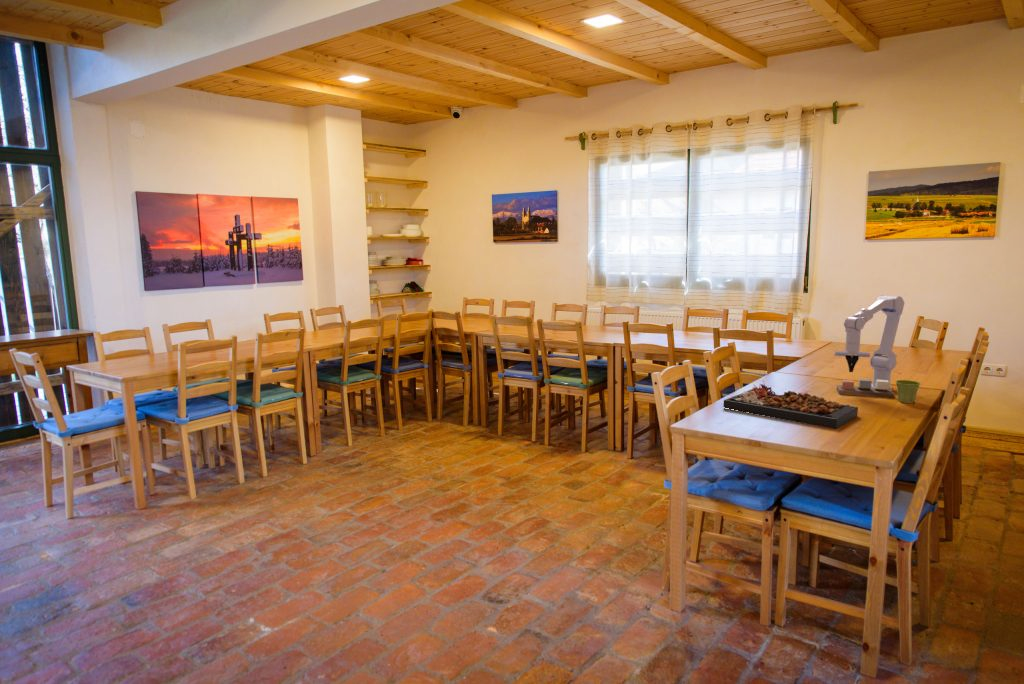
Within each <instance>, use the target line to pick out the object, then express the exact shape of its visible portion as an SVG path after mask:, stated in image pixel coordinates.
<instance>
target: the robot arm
mask: <svg viewBox="0 0 1024 684" xmlns="http://www.w3.org/2000/svg"><path fill="white" fill-rule="evenodd" d="M904 307H905V300H904V299H903V297H902V296H900V295H899V296H895V295H894V296H893V295H884V294H882V295H879V296H878V297H876V300H875V302H874V303H872V305H870V306H869V307H868V308H866V307H865V308H861V309H860V311H858V312H857V313H855V314H854V315H852V316H848V317H846V318H845V320H844V323H843V326H844V328H845V329H844V330H845V333H846V335H845V350H843V351H841V350H840V351H839V350H837V351H836V350H834V351H833V352H834V356H835V357H845V359H846V363H847V366H848V372H849V373H854V369H855V366H856V364H857V363H858V361H859V359H860V358H861V357H862V358H869V364H870V366H871V368H872V369H873V373H872V374H873V375H872V383H871V387H874V388H876V379H877V380H888V381H889V388H890V389H891V391H893V388H892V386H891V377H892V371H893V370H894V369H895V368H896V365H897V354H896V353H895V352H894V351H893V348H894V343H895V339H896V335H897V331H898V327H899V323H900V318H901V315H903V310H904ZM880 311H881V312H882V313H884V314H885V315H886V319H885V323H884V328H883V332H882V336H881V339H880V340H881V341H880V345H879V347H878V349H876V350H874V351H873V353H872V356H871V352H863V351H860V349H861V348H860V347H861V345H860V344H861V332H862V331H861V330H863V329H864V327H865V325H866V324H867V323H868V322H869V321H870V320H872V319H873V318H874V314H877V313H879V312H880Z"/></svg>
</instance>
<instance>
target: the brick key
mask: <svg viewBox="0 0 1024 684" xmlns="http://www.w3.org/2000/svg"><path fill="white" fill-rule="evenodd" d="M841 385H842V389H850V390H854V386H855V382H854V380H852V379H851V380H850V379H841Z"/></svg>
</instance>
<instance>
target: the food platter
mask: <svg viewBox="0 0 1024 684" xmlns="http://www.w3.org/2000/svg"><path fill="white" fill-rule="evenodd" d="M762 382H763V383H759V387H758V386H756V384H753V385H754V386H752V388H751V389H749V390H746V391H744V392H742V393H739V394H737V395H734V396H731V397H729V398H726V399H723V407H725V408H729V409H734V410H738V411H743V412H742V413H744V412H749V413H753V414H752V415H755V414H759V415H758V416H760V415H765V416H764V417H766V416H770V417H769V418H772V417H775V418H774V419H777V418H780V419H779V420H783V419H785V420H784V421H788V420H790V422H794V421H795V422H796V423H799V422H800V423H801V424H805V423H806V425H811V424H812V425H811V426H816V425H817V427H822V426H823V427H822V428H827V427H828V428H829V429H833V430H837V429H839V428H840V427H842V426H843V425H846V424H847V423H849V422H850V421H852V420H853V419H856V418H857V417H858V413H859V412H858V411H859V407H858V406H854V405H850V404H841V403H839V402H837V401H832V400H828V401H827V400H826V399H825V397H822V396H821V397H819V396H817V395H811V394H809V393H806V392H805V393H802V392H801V393H800V392H797V393H796V391H791V390H788V391H787V392H786V391H784V392H783V394H777V393H776V392H775V391H773V389H772V387H771V386H770V387H768V386H766V384H765V381H764V380H762ZM738 411H737V412H738ZM749 413H748V414H749ZM845 423H846V424H845Z"/></svg>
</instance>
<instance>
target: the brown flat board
mask: <svg viewBox="0 0 1024 684" xmlns="http://www.w3.org/2000/svg"><path fill="white" fill-rule="evenodd" d="M836 392H837V393H838V395H843V396H856V397H857V396H859V397H874V398H886V399H894V397H895V393H894V392H893V390H891V389H890V388H889V390H886V389H877V388H874V387H872V386H871V389H870V388H859V386H855V385H854V390H850V389H842V384H841V385H839V384H836Z"/></svg>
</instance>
